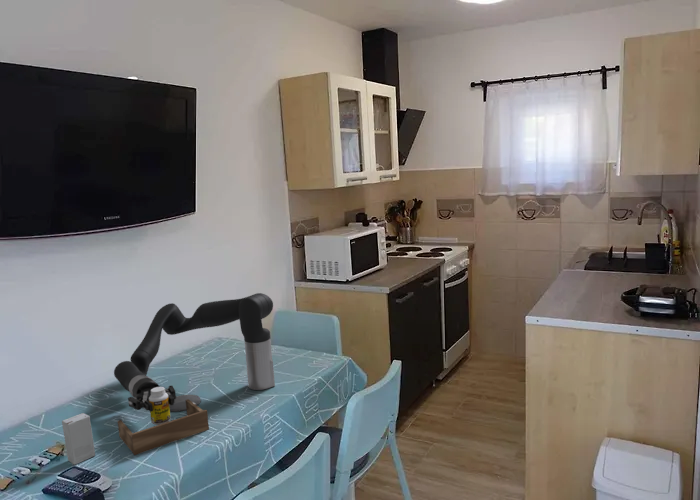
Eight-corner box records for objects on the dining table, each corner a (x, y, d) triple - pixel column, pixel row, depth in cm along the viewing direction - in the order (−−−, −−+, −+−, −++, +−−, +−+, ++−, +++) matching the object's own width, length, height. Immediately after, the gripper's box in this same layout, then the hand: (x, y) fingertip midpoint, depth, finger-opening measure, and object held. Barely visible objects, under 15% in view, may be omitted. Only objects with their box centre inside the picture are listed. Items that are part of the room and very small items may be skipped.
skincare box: (88, 451, 158) (83, 411, 157) (96, 456, 155) (90, 415, 154) (66, 461, 154) (60, 419, 152) (73, 466, 151) (68, 424, 149)
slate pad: (201, 394, 195) (201, 392, 195) (199, 408, 183) (199, 406, 183) (165, 399, 192) (165, 397, 192) (161, 414, 181) (161, 411, 181)
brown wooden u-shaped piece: (119, 436, 167) (116, 417, 166) (190, 413, 180) (188, 396, 179) (134, 455, 155) (132, 435, 154) (209, 429, 168) (207, 410, 167)
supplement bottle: (154, 427, 163) (150, 394, 162) (149, 421, 168) (145, 388, 166) (173, 422, 166) (169, 389, 165) (168, 415, 171) (164, 384, 169)
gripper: (167, 393, 182) (186, 409, 169) (122, 407, 174) (138, 424, 160) (165, 371, 181) (184, 386, 168) (119, 384, 172) (135, 400, 159)
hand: (161, 404), depth 164 cm, fingers closed on supplement bottle, 5 cm apart
